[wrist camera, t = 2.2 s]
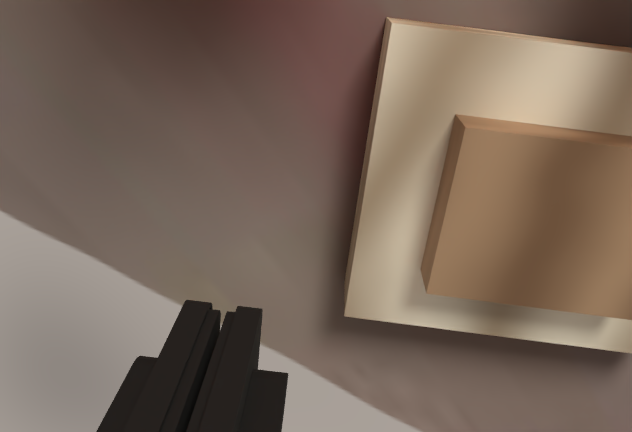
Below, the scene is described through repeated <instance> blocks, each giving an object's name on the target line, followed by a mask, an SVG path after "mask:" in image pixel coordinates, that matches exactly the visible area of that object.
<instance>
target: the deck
mask: <svg viewBox="0 0 632 432" xmlns="http://www.w3.org/2000/svg"><path fill="white" fill-rule="evenodd" d="M455 114H459V115H467V116H475V117H483V118H490V119H498V120H506V121H514V122H522V123H530V124H538V125H546V126H554V127H562V128H570V129H578V130H586V131H594V132H602V133H609V134H617V135H625V136H632V48H629V47H621V46H613V45H605V44H597V43H589V42H581V41H573V40H565V39H557V38H549V37H541V36H533V35H525V34H517V33H509V32H501V31H493V30H485V29H477V28H469V27H461V26H453V25H445V24H437V23H429V22H421V21H413V20H405V19H397V18H389V17H386V23H385V30H384V36H383V42H382V49H381V55H380V61H379V68H378V74H377V80H376V86H375V93H374V99H373V105H372V112H371V118H370V124H369V131H368V137H367V143H366V150H365V156H364V162H363V169H362V175H361V181H360V188H359V194H358V200H357V207H356V213H355V219H354V225H353V232H352V238H351V244H350V251H349V257H348V263H347V270H346V276H345V296H344V316H346V317H353V318H361V319H369V320H377V321H384V322H392V323H400V324H408V325H415V326H423V327H431V328H439V329H446V330H454V331H462V332H470V333H477V334H485V335H493V336H501V337H509V338H516V339H524V340H532V341H540V342H547V343H555V344H563V345H571V346H578V347H586V348H594V349H602V350H609V351H617V352H625V353H632V320H627V319H619V318H611V317H603V316H596V315H588V314H580V313H572V312H564V311H557V310H549V309H541V308H533V307H526V306H518V305H510V304H502V303H494V302H487V301H479V300H471V299H463V298H455V297H448V296H440V295H432V294H426V291H425V286H424V282H423V278H422V274H421V270H420V268H421V264H422V260H423V255H424V251H425V246H426V242H427V237H428V233H429V229H430V224H431V220H432V215H433V211H434V206H435V202H436V198H437V193H438V189H439V184H440V180H441V175H442V171H443V167H444V162H445V158H446V153H447V149H448V144H449V140H450V135H451V131H452V127H453V122H454V118H455Z"/></svg>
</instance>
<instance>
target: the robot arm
mask: <svg viewBox="0 0 632 432" xmlns="http://www.w3.org/2000/svg"><path fill="white" fill-rule="evenodd" d="M220 317H221V313H220V310H212V303H209V302H200V301H192V300H186V301H185V303H184V305H183V307H182V309H181V311H180V313H179V315H178V317H177V319H176V321H175V323H174V325H173V327H172V330H171V332H170V334H169V336H168V338H167V340H166V342H165V344H164V346H163V349H162V351H161V353H160V355H159V357H158V358H154V357H145V356H139V357H138V358H137V359H136V360H135V361H134V363H133V365H132V366H131V368H130V370H129V372H128V374H127V376H126V378H125V380H124V381H123V383H122V385H121V387H120V389H119V391H118V393H117V394H116V396H115V398H114V400H113V402H112V404H111V406H110V408H109V409H108V411H107V413H106V415H105V417H104V419H103V421H102V422H101V424H100V426H99V428H98V430H97V432H281V429H282V422H283V414H284V406H285V397H286V389H287V380H288V373H282V372H273V371H264V370H258V359H259V347H260V336H261V324H262V309H259V308H251V307H243V306H238V307H237V309H236V312H228V311H227V313H226V316H225V319H224V322H223V325H222V327H221V330H220Z"/></svg>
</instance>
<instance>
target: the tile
mask: <svg viewBox="0 0 632 432" xmlns="http://www.w3.org/2000/svg"><path fill="white" fill-rule="evenodd" d="M420 270H421V274H422V278H423V282H424V286H425V291H426V294H432V295H440V296H448V297H455V298H463V299H471V300H479V301H487V302H494V303H502V304H510V305H518V306H526V307H533V308H541V309H549V310H557V311H564V312H572V313H580V314H588V315H596V316H603V317H611V318H619V319H627V320H632V136H625V135H617V134H609V133H602V132H594V131H586V130H578V129H570V128H562V127H554V126H546V125H538V124H530V123H522V122H514V121H506V120H498V119H490V118H483V117H475V116H467V115H459V114H455V118H454V122H453V127H452V131H451V135H450V140H449V144H448V149H447V153H446V158H445V162H444V167H443V171H442V175H441V180H440V184H439V189H438V193H437V198H436V202H435V206H434V211H433V215H432V220H431V224H430V229H429V233H428V237H427V242H426V246H425V251H424V255H423V260H422V264H421V268H420Z"/></svg>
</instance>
